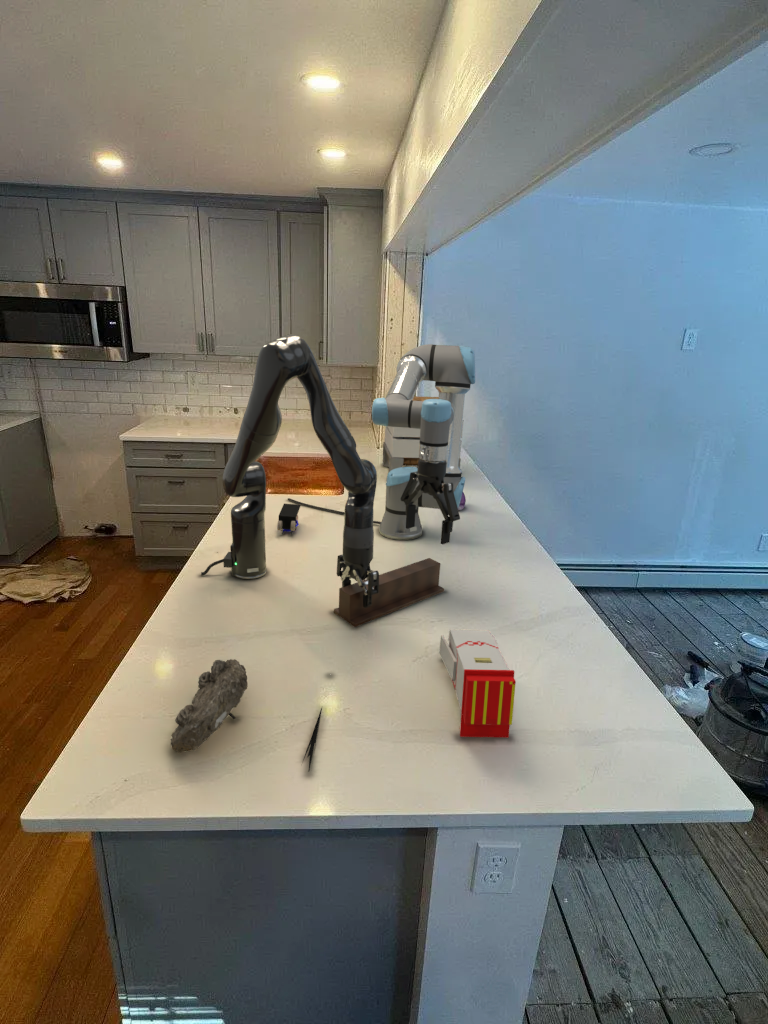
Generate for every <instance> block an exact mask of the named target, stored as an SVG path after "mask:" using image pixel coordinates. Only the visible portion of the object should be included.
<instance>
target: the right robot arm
mask: <svg viewBox="0 0 768 1024" xmlns="http://www.w3.org/2000/svg"><path fill="white" fill-rule="evenodd" d="M423 381H425V382H427V381H428V382H429V381H430V382H435V383H434V388H435V389H436V390H437V392H438V397H439V398H438V399H427V400H424V401H414V400H413V398H414V397H415V396H416V392H417V390H418V387H419V385H420V383H422V382H423ZM474 384H476V356H475V350H474V349H473V347H470V346H464V345H451V344H450V345H449V344H432V343H429V344H422V345H419V346H416V347H413V348H412V349H410V350H409V351H407V352H405V354H404V355H402V356H401V358H399V361H398V363H397V365H396V374H395V376H394V378H393V381H392V383H391V385H390V386H389V387H390V388H389V389H388V392H387V394H386V396H385V397H377V398H375V399H374V400H373V402H372V406H371V420H372V423H373V424H374V425H376V426H382V427H384V428H385V427H387V426H390V427H404V428H416V429H420V442H419V458H420V459H419V460H418V466H417V467H416V466H403V467H400V468H396V469H393V470H391V471H390V472H389V471H388V473H387V475H386V482H385V504H384V505H385V507H384V508H385V509H384V513H383V515H382V519H381V521H379V520H378V521H377V520H373V524H376V525H378V533H379V534H380V535H381V536H382V537H385V538H387V539H389V540H395V541H410V540H415V539H418V538H420V537H421V536H422V535H423V525H422V524H421V518H420V515H419V508H427V509H437V510H440V512H441V515H442V516H443V518H444V520H442V521H441V534H440V544H441V545H445V544H448V543H450V542H451V533H452V532H453V527H454V522H456V521H458V520H460V519H461V515H460V512H459V511H460V510H458V507H459V505H460V501H461V497H462V492H463V493H464V487H465V483H466V477H465V476H462V475H463V471H462V470H461V467H460V468H459V467H458V461H459V451H460V440H461V441H462V438H461V430H462V419H463V418H464V408H465V397H466V394H467V393H468V392H469V391H470V390H471V385H474ZM463 420H464V419H463ZM287 501H290V502H292V503H294V504H297V505H300V506H305V507H308V508H312V509H316V510H321V511H326V512H329V513H330V512H331V513H334V514H335V513H336V514H340V515H344V512H345V511H340V510H336V509H330V508H326V507H321V506H317V505H312V504H308V503H305V502H301V501H299V500H295V499H292V498H289V497H288V498H287Z"/></svg>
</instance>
